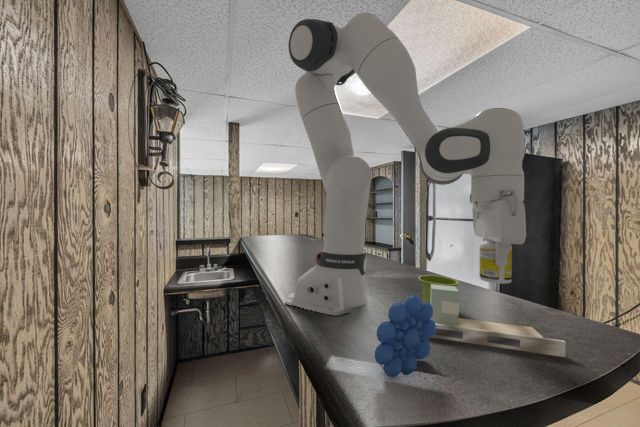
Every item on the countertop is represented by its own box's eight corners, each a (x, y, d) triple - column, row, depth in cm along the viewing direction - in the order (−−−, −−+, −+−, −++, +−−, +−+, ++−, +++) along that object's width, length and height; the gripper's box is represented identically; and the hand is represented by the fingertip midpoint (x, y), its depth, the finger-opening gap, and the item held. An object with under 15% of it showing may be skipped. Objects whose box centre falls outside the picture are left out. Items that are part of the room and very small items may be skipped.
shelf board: (424, 344, 53) (425, 323, 53) (421, 319, 65) (421, 302, 65) (565, 366, 46) (565, 342, 46) (531, 334, 59) (532, 315, 59)
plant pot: (456, 311, 72) (457, 277, 72) (458, 323, 63) (459, 285, 64) (419, 305, 76) (419, 273, 76) (415, 316, 67) (416, 281, 67)
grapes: (413, 353, 49) (415, 285, 49) (445, 373, 43) (447, 296, 43) (358, 367, 44) (360, 292, 44) (386, 392, 38) (388, 305, 38)
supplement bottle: (504, 278, 57) (505, 231, 57) (517, 285, 51) (518, 232, 51) (475, 276, 58) (476, 230, 58) (484, 283, 52) (486, 231, 52)
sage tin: (458, 331, 56) (459, 291, 56) (431, 327, 57) (432, 288, 57) (455, 323, 59) (455, 286, 59) (429, 320, 61) (430, 284, 61)
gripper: (539, 187, 44) (537, 275, 44) (498, 196, 63) (497, 256, 63) (493, 188, 46) (492, 271, 46) (468, 196, 65) (467, 255, 65)
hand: (495, 262), depth 55 cm, fingers closed on supplement bottle, 5 cm apart
